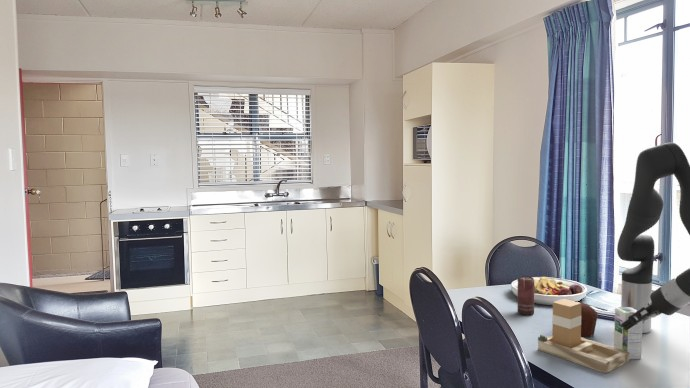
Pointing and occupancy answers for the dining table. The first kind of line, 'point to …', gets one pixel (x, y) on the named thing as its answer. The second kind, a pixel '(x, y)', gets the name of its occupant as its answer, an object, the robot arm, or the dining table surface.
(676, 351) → the dining table surface
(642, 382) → the dining table surface
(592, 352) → the pallet
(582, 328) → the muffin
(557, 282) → the bowl
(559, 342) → the tan cardboard box
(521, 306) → the can
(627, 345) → the syrup box
